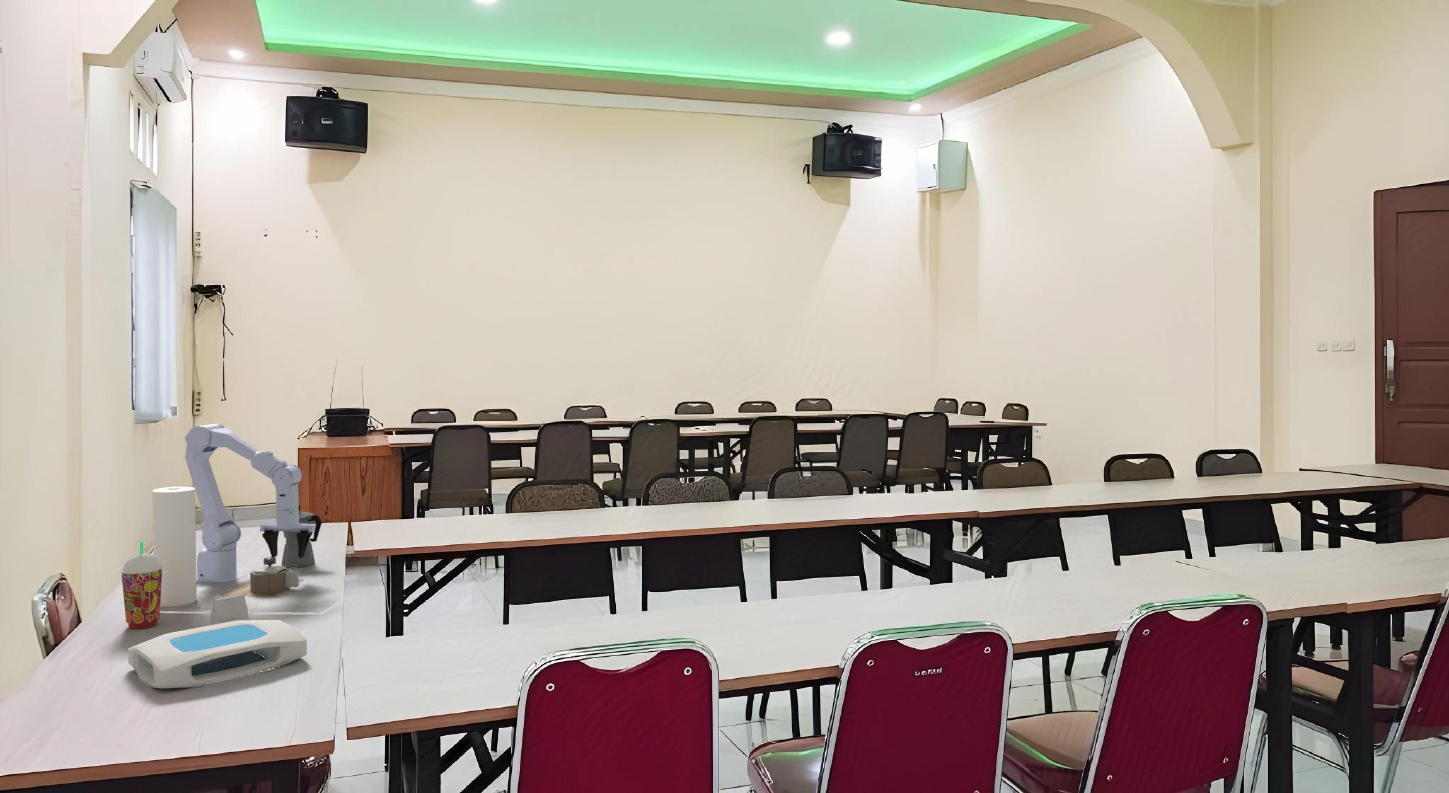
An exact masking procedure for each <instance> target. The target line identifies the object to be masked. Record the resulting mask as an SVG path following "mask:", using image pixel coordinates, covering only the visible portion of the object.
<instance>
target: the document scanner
mask: <svg viewBox="0 0 1449 793" xmlns="http://www.w3.org/2000/svg"><path fill="white" fill-rule="evenodd" d="M307 642H308V641H307V639H306V638H305V637H304V636H303V635H302V633H300V631H299V630H298V629H297V628H296V627H294V626H292V625H290V624H288V623H287V622H285V621H282V620H281V619H280V620H279V619H253V620H252V619H251V620H250V619H249V620H237V621H231V622H225V623H220V624H215V625H210V624H209V625H205V626H201V627H194V628H189V629H184V630H179V631H174V632H168V633H165V634H162V635H159V636H156V637H154V638H151V639H148V640H146V641H143V642H141V643H137V644H136V645H133V646H131V647H128V648H127V655H128V656H127V660H128V661H127V662H128V664H129V665H130V666H131V667H132V668H133V670H134V671H135V672H136V673H135V674H136V676H137V678H138V679H139V680H141V681H142V682H143V683H144V684H145V685H147V686H148V687H149V688H151V689H154V688H155V689H181V688H197V687H198V688H199V687H203V686H202V685H205V686H209V685H213V684H218V683H222V682H224V681H223V680H227V681H230V680H229V679H231V680H233V679H232V678H235V679H239V678H238V677H240V676H244V675H248V676H250V675H249V674H252V673H257V672H260V671H266V670H268V669H272V668H276V667H278V666H281V667H283V666H285V665H288V664H290V663H292V662H294V661H297V660H299V659H301V658H304V657H305V656H307V655H308V654H307V653H308V648H307V647H308V646H307V645H308V643H307ZM250 651H253V652H256V653H257V654H256V653H255V654H256V655H259V654H260V655H262V656H264V657H265V658H266V660H265V658H264V657H263V658H264V659H263V660H259V661H255V662H252V663H248V664H244V665H241V666H236V667H233V668H232V667H231V668H227V669H222V670H217V671H214V672H213V671H211V672H209V673H208V672H207V673H203V674H198V675H192V666H196V665H197V664H200V663H203V662H206V661H210V660H214V659H218V658H223V657H228V656H233V655H238V654H242V653H247V652H250ZM253 652H252V653H253ZM260 655H259V656H260ZM262 656H261V657H262ZM276 669H277V668H276ZM266 672H267V671H266ZM257 674H258V673H257ZM244 677H245V676H244ZM240 678H241V677H240ZM221 681H222V682H221ZM217 682H218V683H217ZM212 683H213V684H212Z"/></svg>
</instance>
